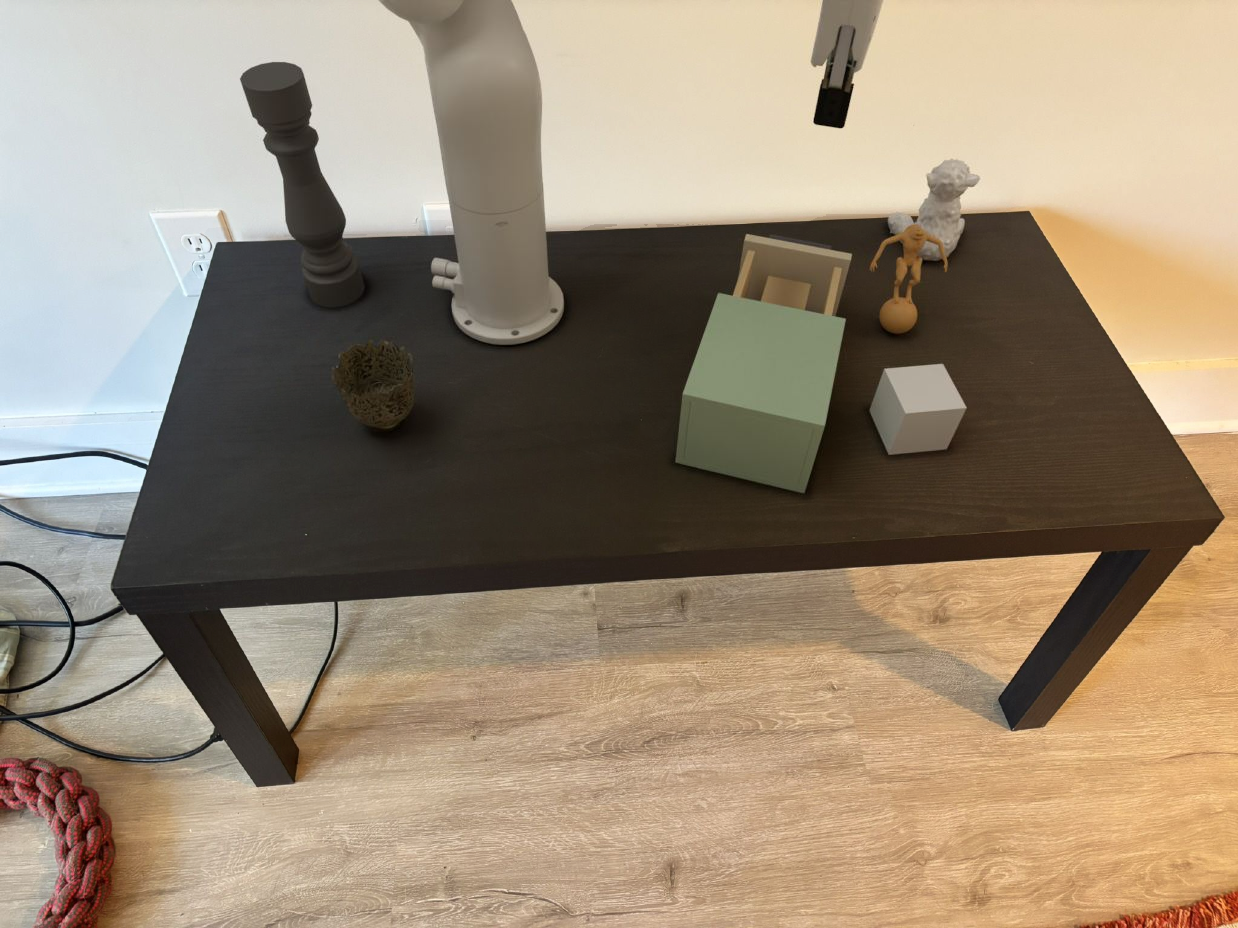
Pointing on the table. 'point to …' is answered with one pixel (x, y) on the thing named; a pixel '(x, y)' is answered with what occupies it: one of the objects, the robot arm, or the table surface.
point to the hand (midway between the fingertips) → (829, 122)
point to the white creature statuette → (939, 208)
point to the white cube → (916, 409)
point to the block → (786, 292)
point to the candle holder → (304, 182)
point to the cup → (376, 384)
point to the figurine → (899, 310)
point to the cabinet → (759, 392)
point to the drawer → (793, 269)
